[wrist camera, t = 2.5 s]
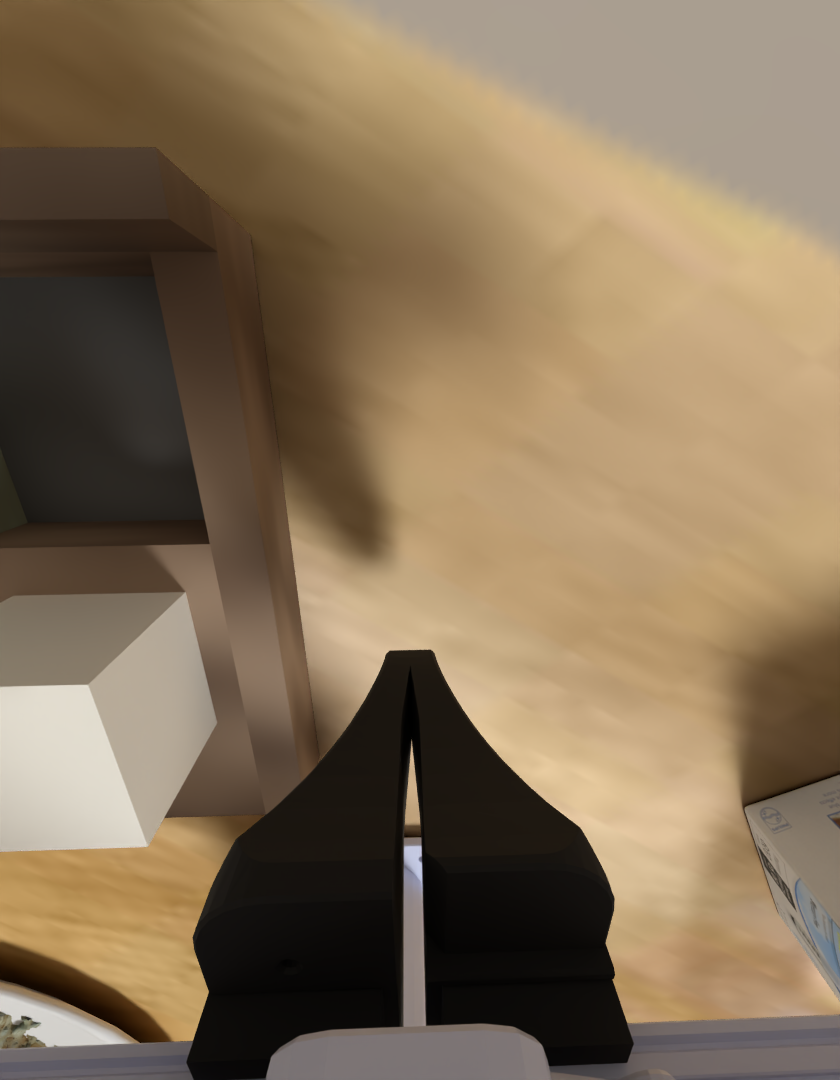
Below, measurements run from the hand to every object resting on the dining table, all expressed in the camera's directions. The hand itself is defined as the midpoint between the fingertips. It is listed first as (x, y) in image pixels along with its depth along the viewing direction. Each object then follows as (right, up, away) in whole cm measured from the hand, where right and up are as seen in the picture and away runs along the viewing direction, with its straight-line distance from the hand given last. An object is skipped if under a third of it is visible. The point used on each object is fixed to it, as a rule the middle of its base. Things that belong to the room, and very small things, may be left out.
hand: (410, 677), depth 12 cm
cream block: (-9, 0, +1) cm, 9 cm away
